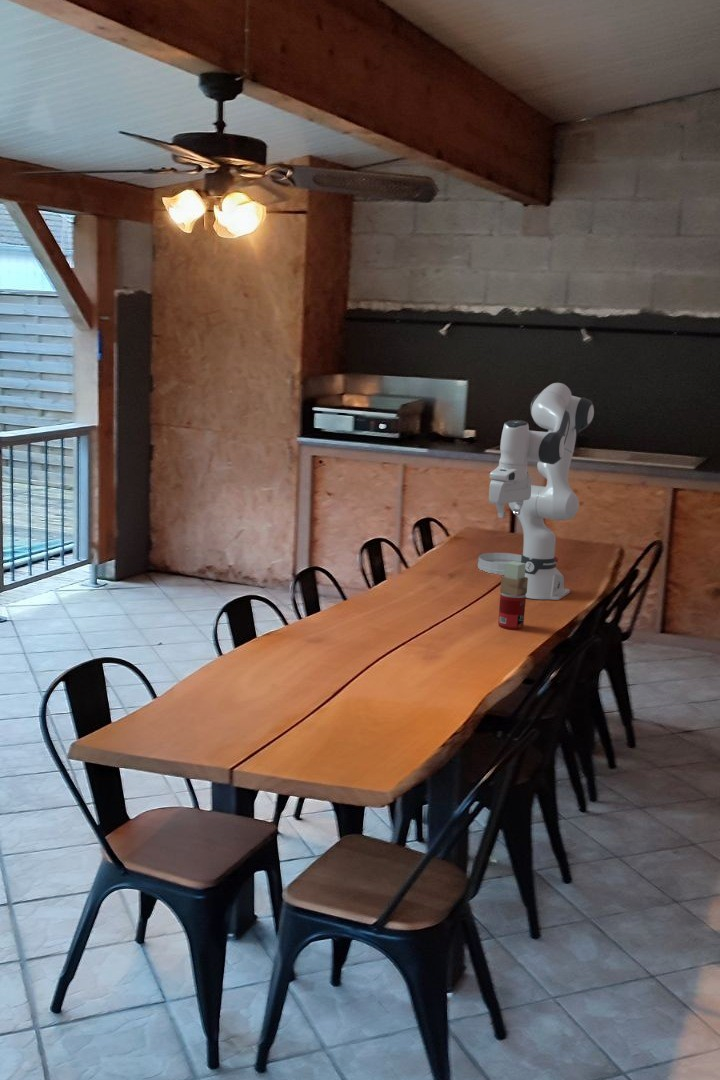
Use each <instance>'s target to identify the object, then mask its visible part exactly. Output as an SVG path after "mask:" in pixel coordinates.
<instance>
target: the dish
mask: <svg viewBox="0 0 720 1080" xmlns="http://www.w3.org/2000/svg"><path fill="white" fill-rule="evenodd" d="M521 556H522V554H516V553H511V552H510V553H509V552H486V553H482V554H480V555H478V560H477V561H478V562H477V567H478V568H479V569H480V570H483V571H485V572H488V573H494V574H499V575H505V566H506V563H508V562H512V561H515V562H520V563H521ZM478 568H477V569H478ZM480 570H479V571H480ZM488 573H487V574H488ZM499 575H498V576H499Z"/></svg>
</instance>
